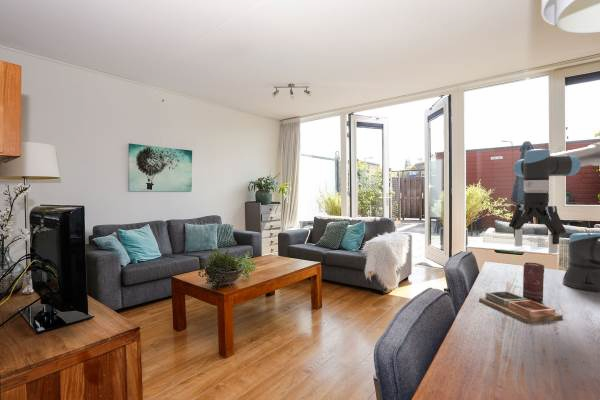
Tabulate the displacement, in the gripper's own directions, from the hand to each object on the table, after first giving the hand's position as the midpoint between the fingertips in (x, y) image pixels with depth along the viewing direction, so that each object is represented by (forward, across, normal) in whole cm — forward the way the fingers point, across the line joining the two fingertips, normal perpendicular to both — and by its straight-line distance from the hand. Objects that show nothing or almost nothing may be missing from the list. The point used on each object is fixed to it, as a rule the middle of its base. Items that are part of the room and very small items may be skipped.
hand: (534, 249), depth 119 cm
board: (+20, +4, -12) cm, 23 cm away
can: (+20, -1, +1) cm, 20 cm away
